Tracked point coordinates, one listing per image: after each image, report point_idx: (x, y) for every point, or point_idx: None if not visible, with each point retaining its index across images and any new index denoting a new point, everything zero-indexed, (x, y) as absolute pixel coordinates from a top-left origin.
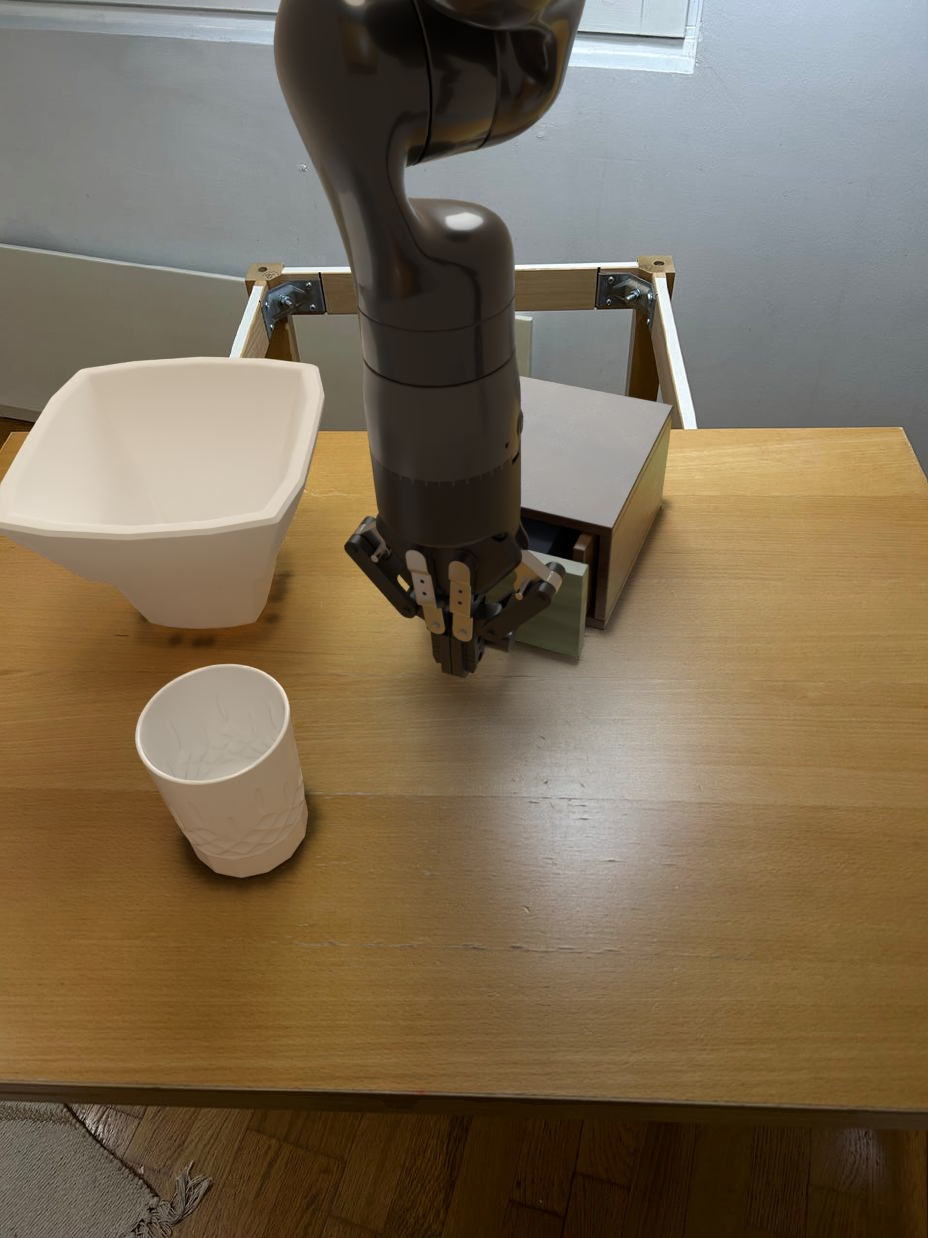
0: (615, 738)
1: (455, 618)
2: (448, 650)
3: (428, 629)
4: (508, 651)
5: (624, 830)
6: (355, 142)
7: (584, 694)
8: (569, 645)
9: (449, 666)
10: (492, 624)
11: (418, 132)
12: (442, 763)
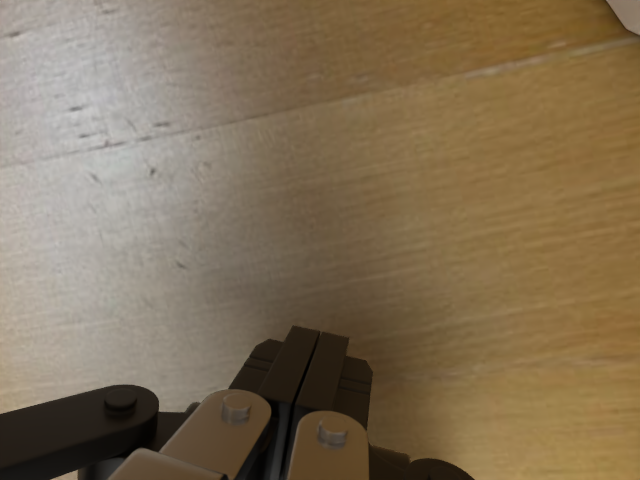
0: (68, 283)
1: (236, 456)
2: (310, 373)
3: (404, 455)
4: (191, 404)
5: (11, 100)
6: None
7: (136, 366)
8: None
9: (322, 345)
10: (79, 432)
11: None
12: (342, 176)
